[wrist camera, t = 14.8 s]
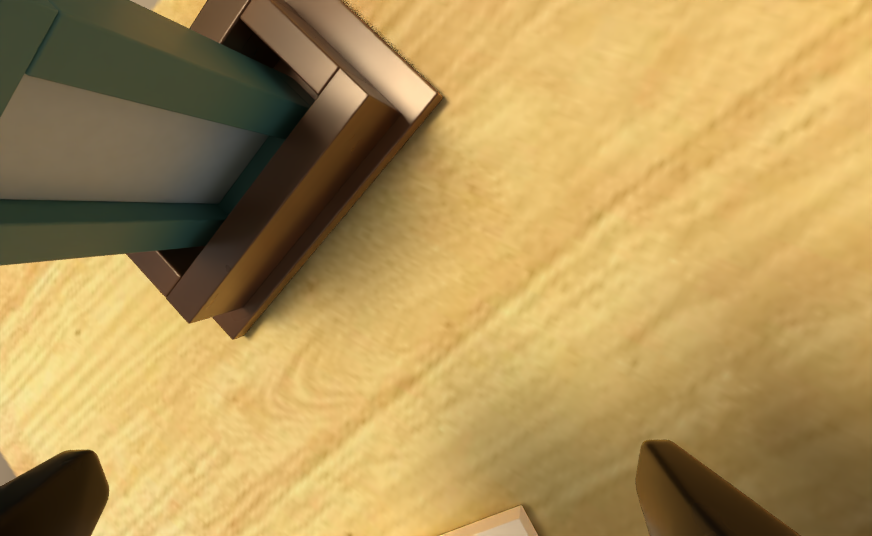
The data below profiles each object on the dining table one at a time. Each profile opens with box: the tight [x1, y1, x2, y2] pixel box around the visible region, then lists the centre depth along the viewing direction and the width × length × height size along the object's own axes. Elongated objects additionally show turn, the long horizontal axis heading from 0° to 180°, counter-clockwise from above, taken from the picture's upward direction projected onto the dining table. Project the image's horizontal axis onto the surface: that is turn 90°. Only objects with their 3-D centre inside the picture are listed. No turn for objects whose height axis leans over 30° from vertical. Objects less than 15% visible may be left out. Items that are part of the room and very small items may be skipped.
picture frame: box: [0, 0, 315, 265], centre depth 15 cm, size 2×7×12 cm, turn 137°
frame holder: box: [126, 0, 443, 340], centre depth 20 cm, size 8×14×4 cm, turn 137°
